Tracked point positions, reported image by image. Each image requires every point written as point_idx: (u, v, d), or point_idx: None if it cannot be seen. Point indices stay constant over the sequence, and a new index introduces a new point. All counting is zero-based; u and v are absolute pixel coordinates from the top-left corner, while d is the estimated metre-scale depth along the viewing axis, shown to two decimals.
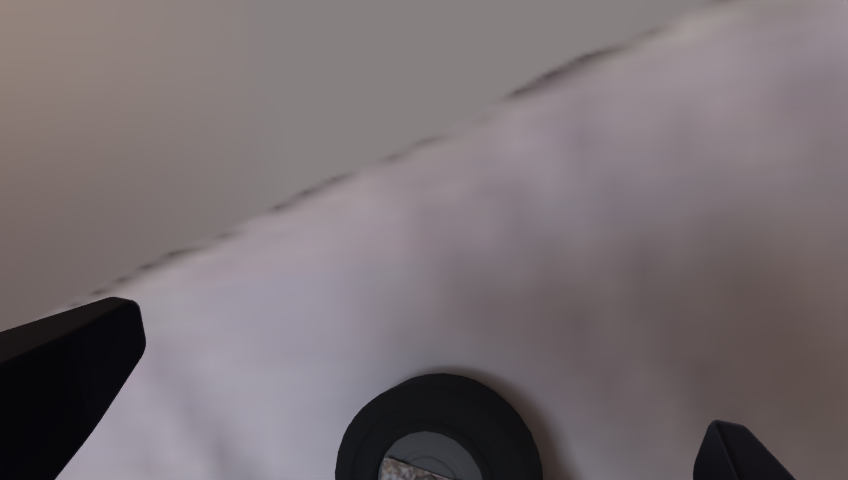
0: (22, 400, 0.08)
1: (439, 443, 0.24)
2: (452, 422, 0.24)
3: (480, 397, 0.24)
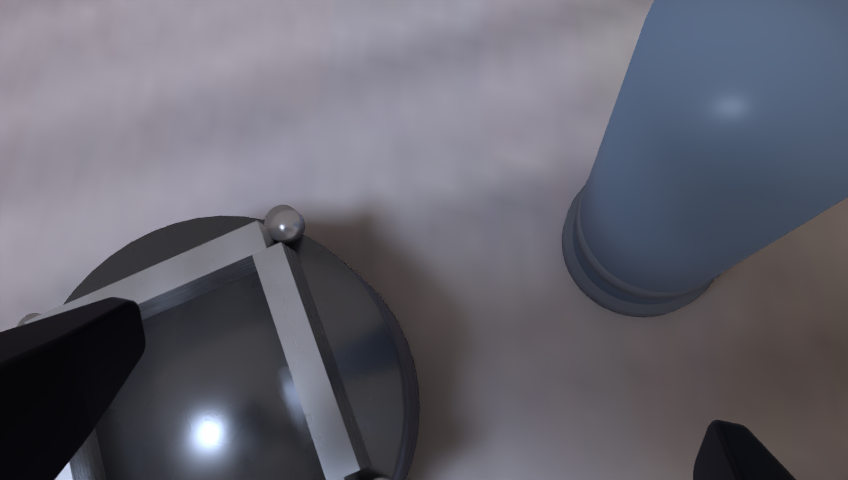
0: (22, 400, 0.08)
1: None
2: None
3: None
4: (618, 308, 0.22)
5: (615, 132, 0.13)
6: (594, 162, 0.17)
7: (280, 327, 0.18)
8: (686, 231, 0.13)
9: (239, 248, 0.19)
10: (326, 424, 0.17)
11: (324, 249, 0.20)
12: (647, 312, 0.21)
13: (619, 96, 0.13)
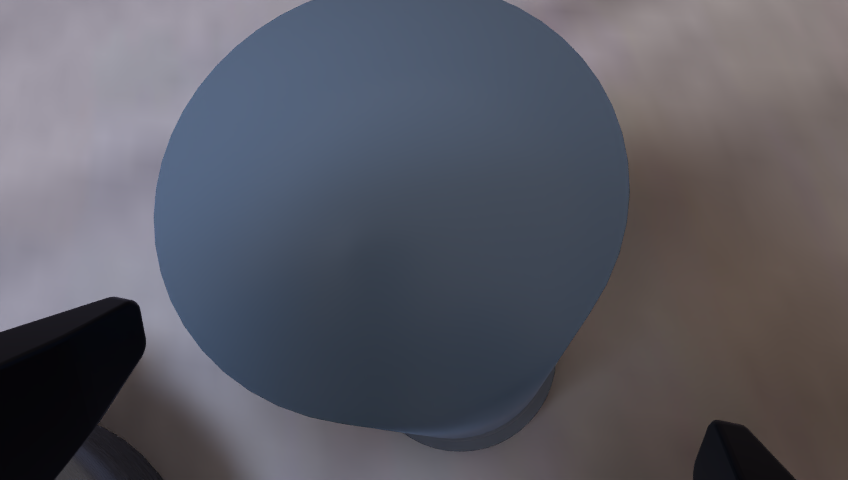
0: (22, 400, 0.08)
1: None
2: None
3: None
4: None
5: None
6: None
7: None
8: None
9: None
10: None
11: None
12: (471, 449, 0.17)
13: None
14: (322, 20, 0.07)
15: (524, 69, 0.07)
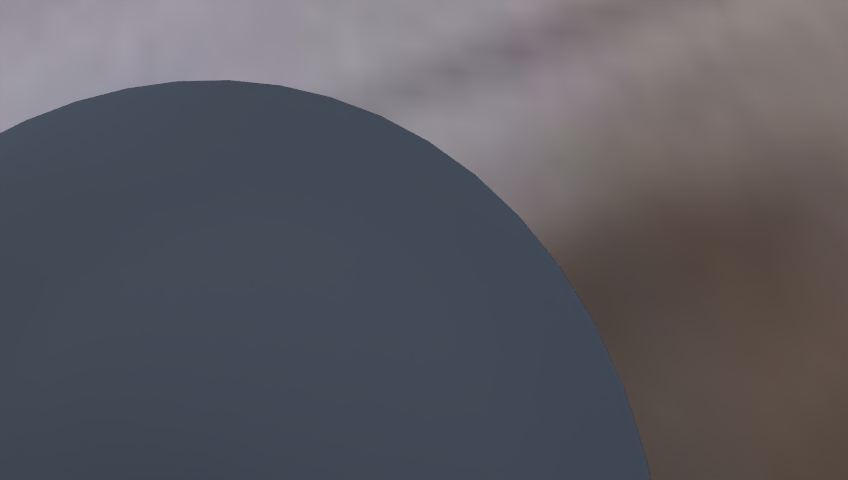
0: None
1: None
2: None
3: None
4: None
5: None
6: None
7: None
8: None
9: None
10: None
11: None
12: None
13: None
14: (51, 159, 0.04)
15: (436, 287, 0.03)
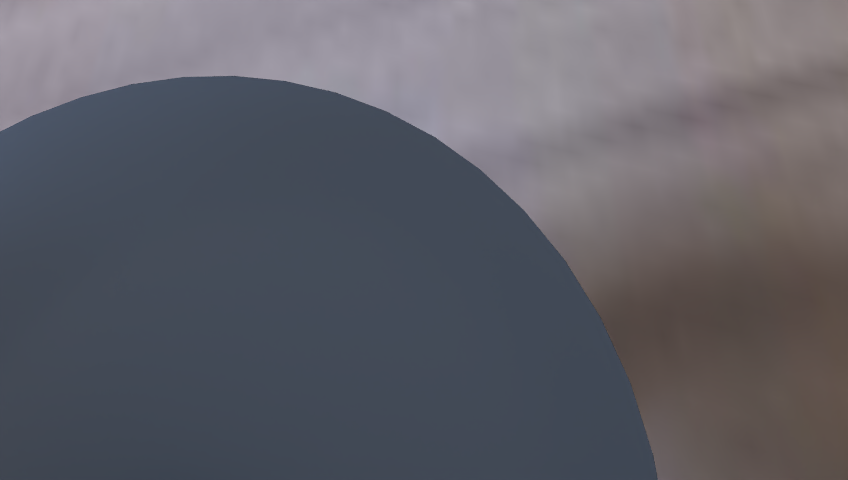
0: None
1: None
2: None
3: None
4: None
5: None
6: None
7: None
8: None
9: None
10: None
11: None
12: None
13: None
14: (56, 154, 0.04)
15: (441, 282, 0.03)
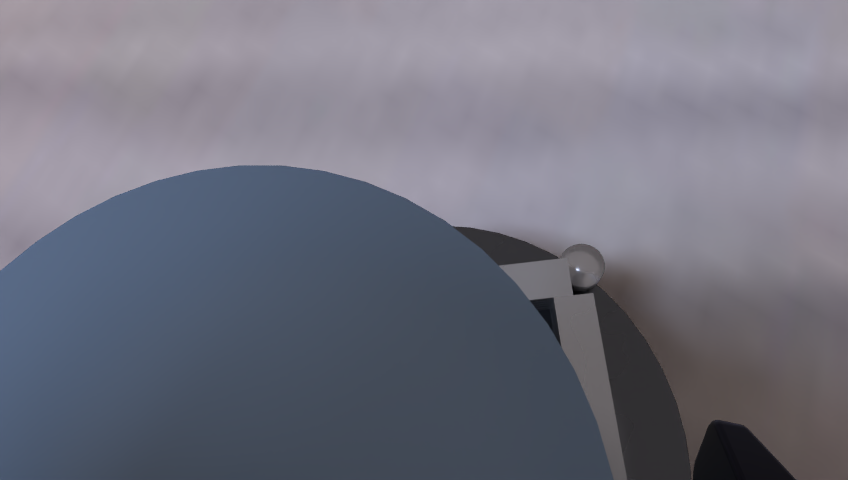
0: None
1: None
2: None
3: None
4: None
5: None
6: None
7: None
8: None
9: (538, 285, 0.16)
10: None
11: (621, 311, 0.17)
12: None
13: None
14: (137, 229, 0.04)
15: (451, 340, 0.04)
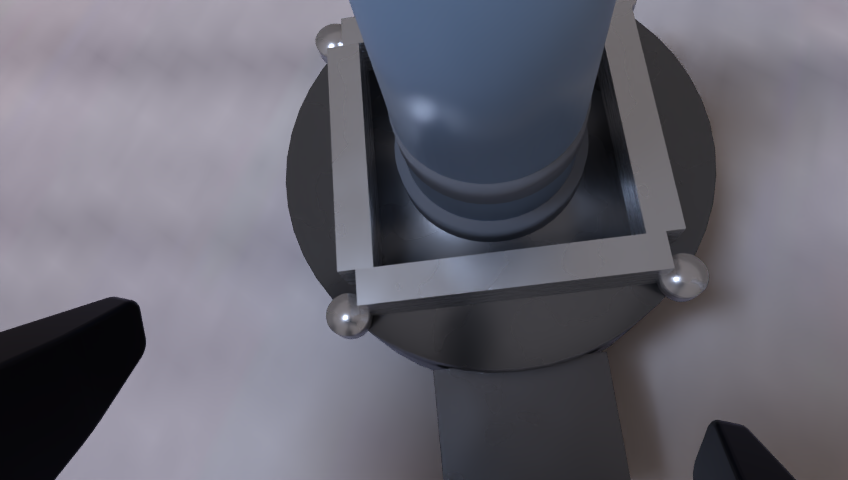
0: (22, 400, 0.08)
1: None
2: None
3: None
4: (469, 230, 0.17)
5: None
6: None
7: (616, 77, 0.17)
8: (428, 4, 0.09)
9: None
10: (654, 177, 0.16)
11: (652, 34, 0.19)
12: (505, 229, 0.17)
13: None
14: None
15: None
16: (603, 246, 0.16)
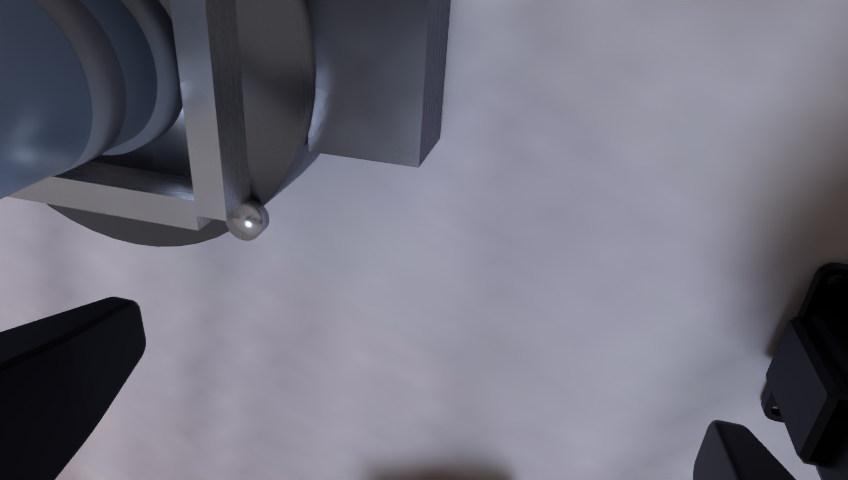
0: (22, 400, 0.08)
1: None
2: None
3: None
4: (168, 102, 0.17)
5: None
6: None
7: None
8: None
9: None
10: None
11: None
12: (165, 70, 0.17)
13: None
14: None
15: None
16: None
